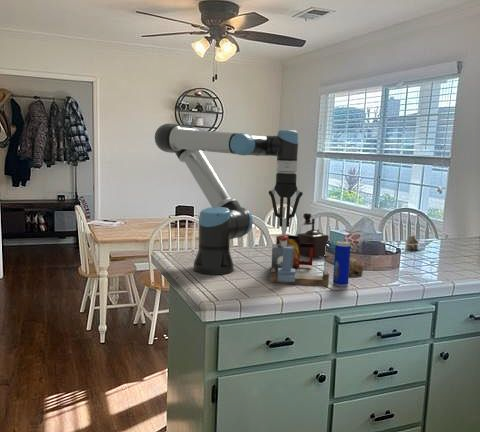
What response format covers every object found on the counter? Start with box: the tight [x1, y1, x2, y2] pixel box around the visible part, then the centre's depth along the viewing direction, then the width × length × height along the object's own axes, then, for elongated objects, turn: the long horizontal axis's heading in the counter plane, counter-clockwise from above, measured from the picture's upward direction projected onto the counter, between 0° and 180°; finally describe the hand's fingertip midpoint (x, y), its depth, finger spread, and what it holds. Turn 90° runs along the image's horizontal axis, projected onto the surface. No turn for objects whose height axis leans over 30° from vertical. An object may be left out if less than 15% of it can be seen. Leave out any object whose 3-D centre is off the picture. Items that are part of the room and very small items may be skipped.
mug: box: [275, 234, 314, 270], centre depth 193 cm, size 10×14×12 cm
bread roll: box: [349, 257, 364, 277], centre depth 185 cm, size 10×10×8 cm
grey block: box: [270, 243, 294, 273], centre depth 182 cm, size 8×9×10 cm
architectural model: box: [405, 234, 421, 250], centre depth 237 cm, size 3×7×7 cm, turn 118°
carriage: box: [278, 246, 296, 282], centre depth 169 cm, size 6×8×11 cm
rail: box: [269, 267, 330, 287], centre depth 169 cm, size 20×6×4 cm, turn 85°
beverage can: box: [332, 240, 352, 287], centre depth 167 cm, size 5×5×15 cm
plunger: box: [278, 234, 288, 247], centre depth 182 cm, size 4×4×7 cm
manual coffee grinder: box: [296, 212, 330, 259], centre depth 218 cm, size 16×11×18 cm
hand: (283, 235), depth 181 cm, fingers closed
